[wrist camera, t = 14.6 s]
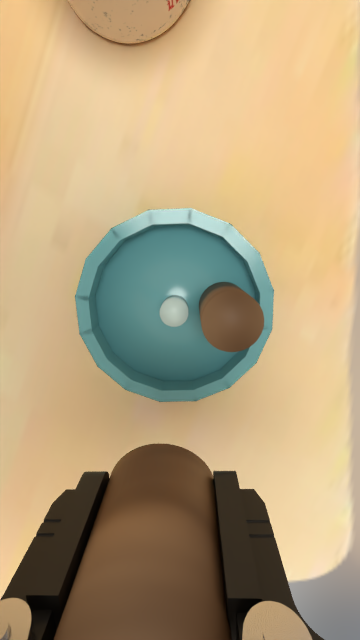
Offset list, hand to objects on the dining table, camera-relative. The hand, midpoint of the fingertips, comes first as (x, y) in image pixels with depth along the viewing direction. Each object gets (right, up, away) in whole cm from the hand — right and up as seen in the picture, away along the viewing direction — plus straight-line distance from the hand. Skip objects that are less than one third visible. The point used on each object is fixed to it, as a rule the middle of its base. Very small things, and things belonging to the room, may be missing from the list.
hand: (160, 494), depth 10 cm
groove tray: (0, +7, +13) cm, 15 cm away
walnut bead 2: (+4, +7, +12) cm, 14 cm away
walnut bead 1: (0, 0, 0) cm, 0 cm away
